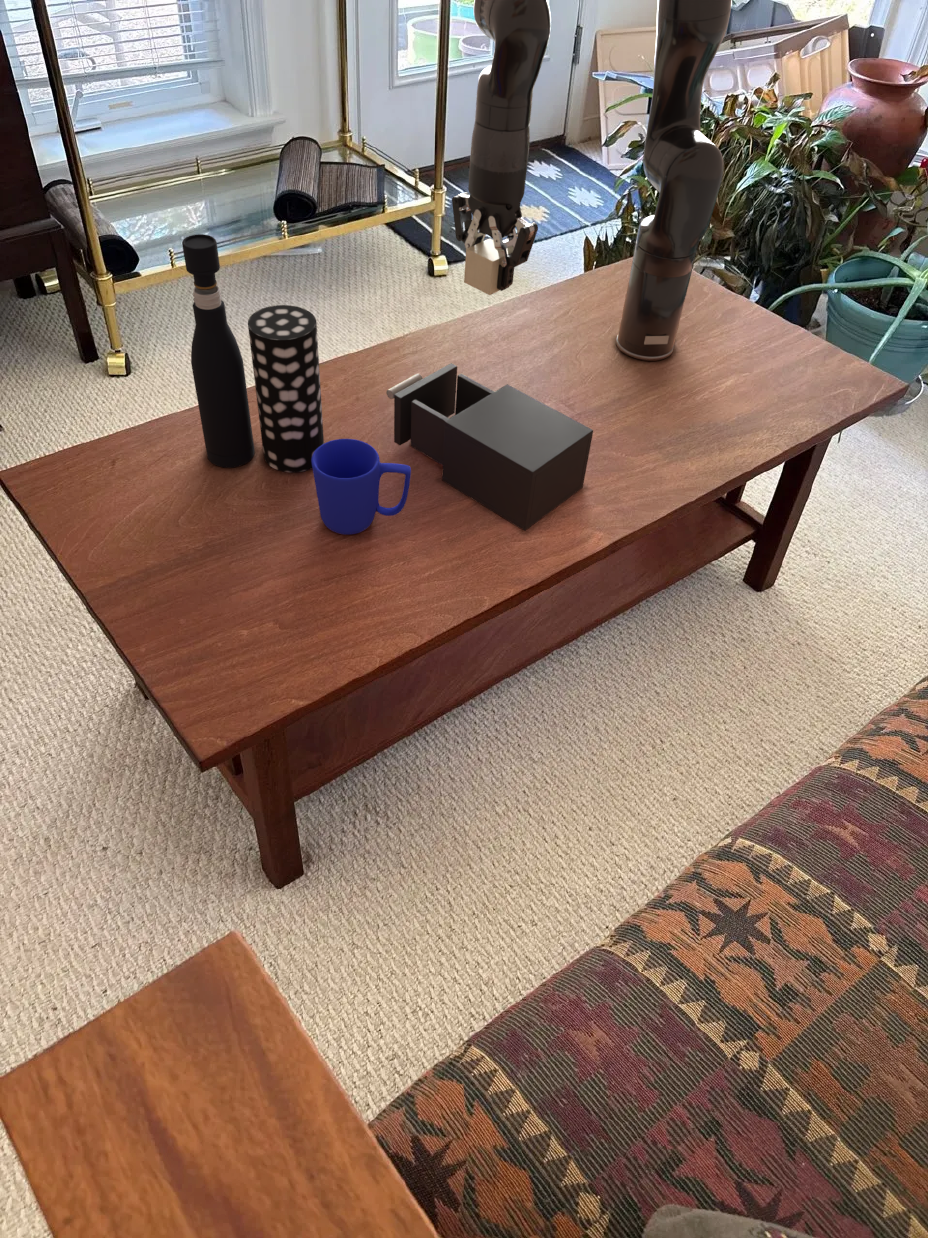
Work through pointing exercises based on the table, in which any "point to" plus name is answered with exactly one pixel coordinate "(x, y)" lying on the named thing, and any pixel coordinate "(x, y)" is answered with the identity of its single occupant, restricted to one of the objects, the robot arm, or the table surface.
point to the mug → (352, 484)
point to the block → (482, 267)
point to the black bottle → (217, 362)
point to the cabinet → (515, 455)
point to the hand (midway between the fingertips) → (488, 280)
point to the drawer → (431, 407)
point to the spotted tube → (287, 385)
